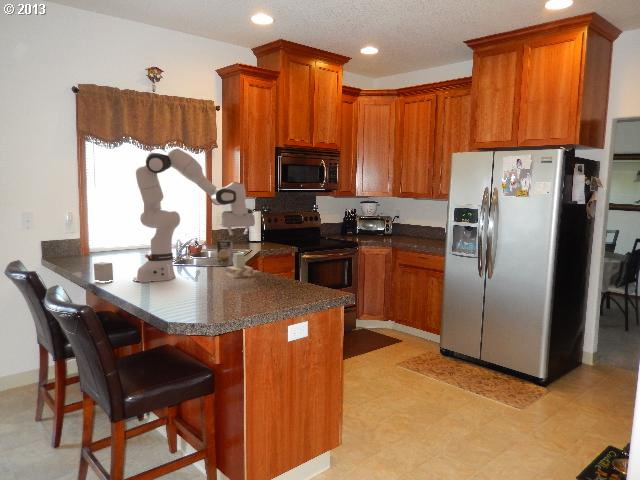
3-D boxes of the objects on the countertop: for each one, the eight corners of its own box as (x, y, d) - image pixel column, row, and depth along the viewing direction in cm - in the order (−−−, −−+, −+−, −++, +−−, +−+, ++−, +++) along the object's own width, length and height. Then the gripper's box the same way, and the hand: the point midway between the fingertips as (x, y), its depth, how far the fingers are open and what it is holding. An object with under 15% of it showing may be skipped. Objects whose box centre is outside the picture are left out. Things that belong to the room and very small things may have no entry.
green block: (236, 268, 271) (236, 254, 270) (233, 267, 275) (233, 253, 274) (244, 267, 274) (244, 253, 273) (241, 266, 278) (240, 252, 277)
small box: (113, 282, 255) (112, 262, 254) (105, 283, 250) (104, 264, 249) (103, 280, 258) (102, 261, 257) (94, 282, 253) (93, 263, 252)
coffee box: (217, 265, 310) (216, 241, 308) (220, 263, 316) (219, 240, 315) (230, 265, 309) (230, 241, 308) (233, 264, 316) (233, 240, 314)
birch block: (233, 278, 266) (233, 269, 266) (226, 275, 276) (225, 266, 276) (253, 276, 272) (252, 268, 272) (245, 273, 283) (245, 265, 282)
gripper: (224, 211, 262) (224, 236, 263) (256, 210, 274) (256, 234, 276) (219, 210, 266) (219, 235, 268) (250, 210, 279) (250, 233, 281)
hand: (238, 234), depth 272 cm, fingers open, 8 cm apart
